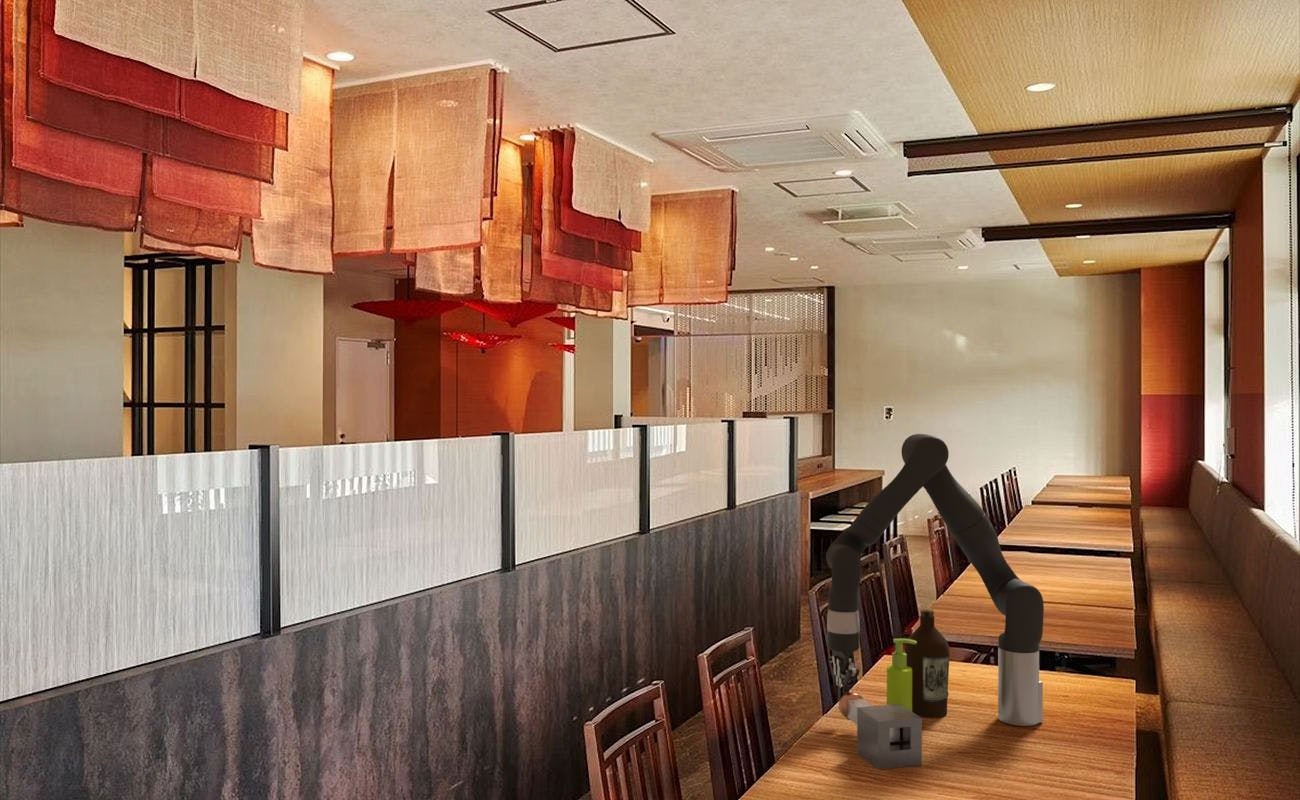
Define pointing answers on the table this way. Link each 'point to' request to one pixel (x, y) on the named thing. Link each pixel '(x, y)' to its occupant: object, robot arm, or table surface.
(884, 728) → the grey box with hole
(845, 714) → the shaft
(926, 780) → the table surface
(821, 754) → the table surface
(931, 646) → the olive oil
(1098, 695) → the table surface
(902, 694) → the soap dispenser
